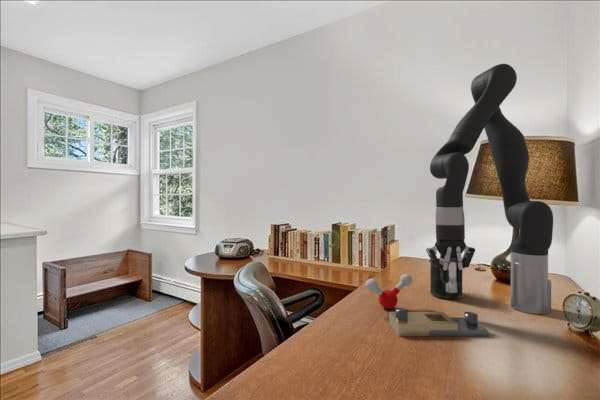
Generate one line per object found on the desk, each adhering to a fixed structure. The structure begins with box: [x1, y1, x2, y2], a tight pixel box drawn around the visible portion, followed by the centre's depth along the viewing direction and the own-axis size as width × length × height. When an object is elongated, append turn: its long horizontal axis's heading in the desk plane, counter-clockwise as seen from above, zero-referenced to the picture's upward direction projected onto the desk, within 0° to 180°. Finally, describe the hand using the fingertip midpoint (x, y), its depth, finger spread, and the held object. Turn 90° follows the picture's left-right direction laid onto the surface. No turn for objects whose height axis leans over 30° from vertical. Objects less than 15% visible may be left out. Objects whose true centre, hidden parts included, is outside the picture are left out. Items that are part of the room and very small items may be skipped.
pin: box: [444, 257, 457, 293], centre depth 89 cm, size 4×4×10 cm
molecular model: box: [365, 273, 413, 310], centre depth 95 cm, size 18×6×10 cm, turn 124°
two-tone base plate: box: [388, 307, 489, 337], centre depth 80 cm, size 22×8×5 cm, turn 90°
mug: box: [429, 257, 463, 301], centre depth 109 cm, size 11×15×12 cm
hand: (451, 282), depth 89 cm, fingers closed on pin, 3 cm apart
